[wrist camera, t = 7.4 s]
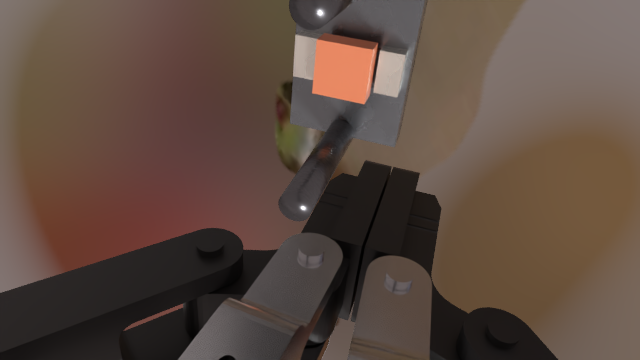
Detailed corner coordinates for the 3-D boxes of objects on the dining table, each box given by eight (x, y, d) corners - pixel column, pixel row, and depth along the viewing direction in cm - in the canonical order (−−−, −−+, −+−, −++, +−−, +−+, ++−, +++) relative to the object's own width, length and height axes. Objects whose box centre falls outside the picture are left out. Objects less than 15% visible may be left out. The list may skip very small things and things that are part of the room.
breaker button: (333, 25, 39) (316, 39, 35) (384, 34, 38) (372, 49, 35) (327, 75, 42) (312, 93, 38) (375, 85, 41) (364, 104, 37)
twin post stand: (311, -55, 37) (225, -31, 25) (435, -38, 35) (406, -2, 23) (298, 121, 46) (229, 203, 34) (397, 143, 44) (361, 239, 32)
